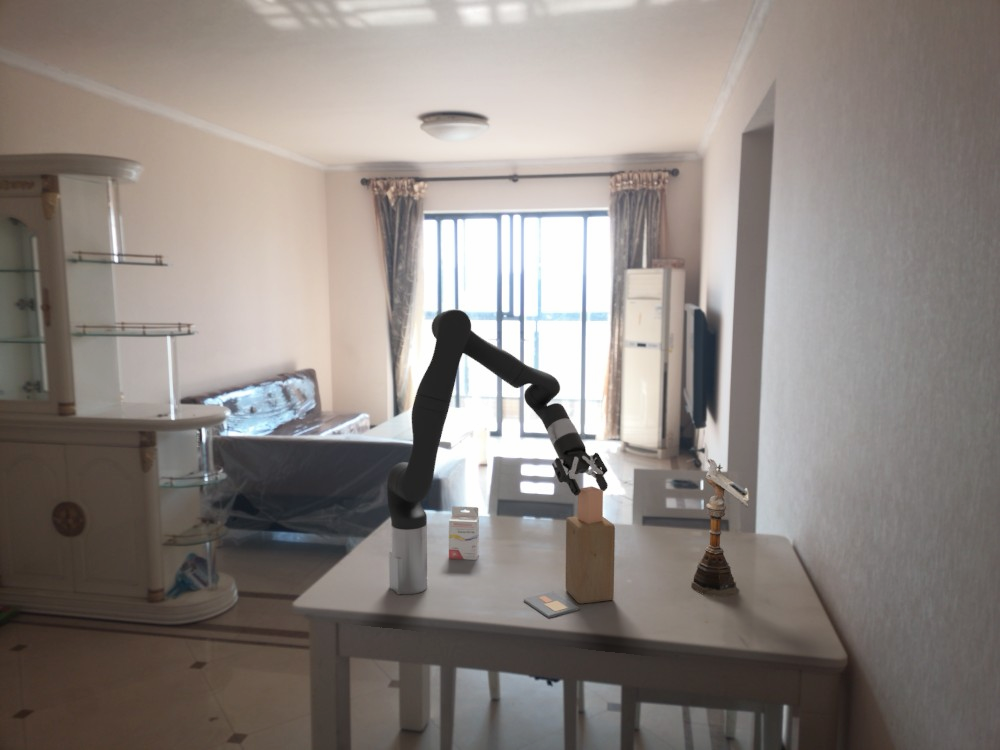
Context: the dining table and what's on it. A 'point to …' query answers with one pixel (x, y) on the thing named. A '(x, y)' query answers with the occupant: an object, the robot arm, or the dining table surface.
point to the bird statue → (717, 538)
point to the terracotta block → (590, 505)
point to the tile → (551, 604)
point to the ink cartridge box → (464, 533)
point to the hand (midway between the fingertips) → (591, 491)
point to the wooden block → (590, 560)
